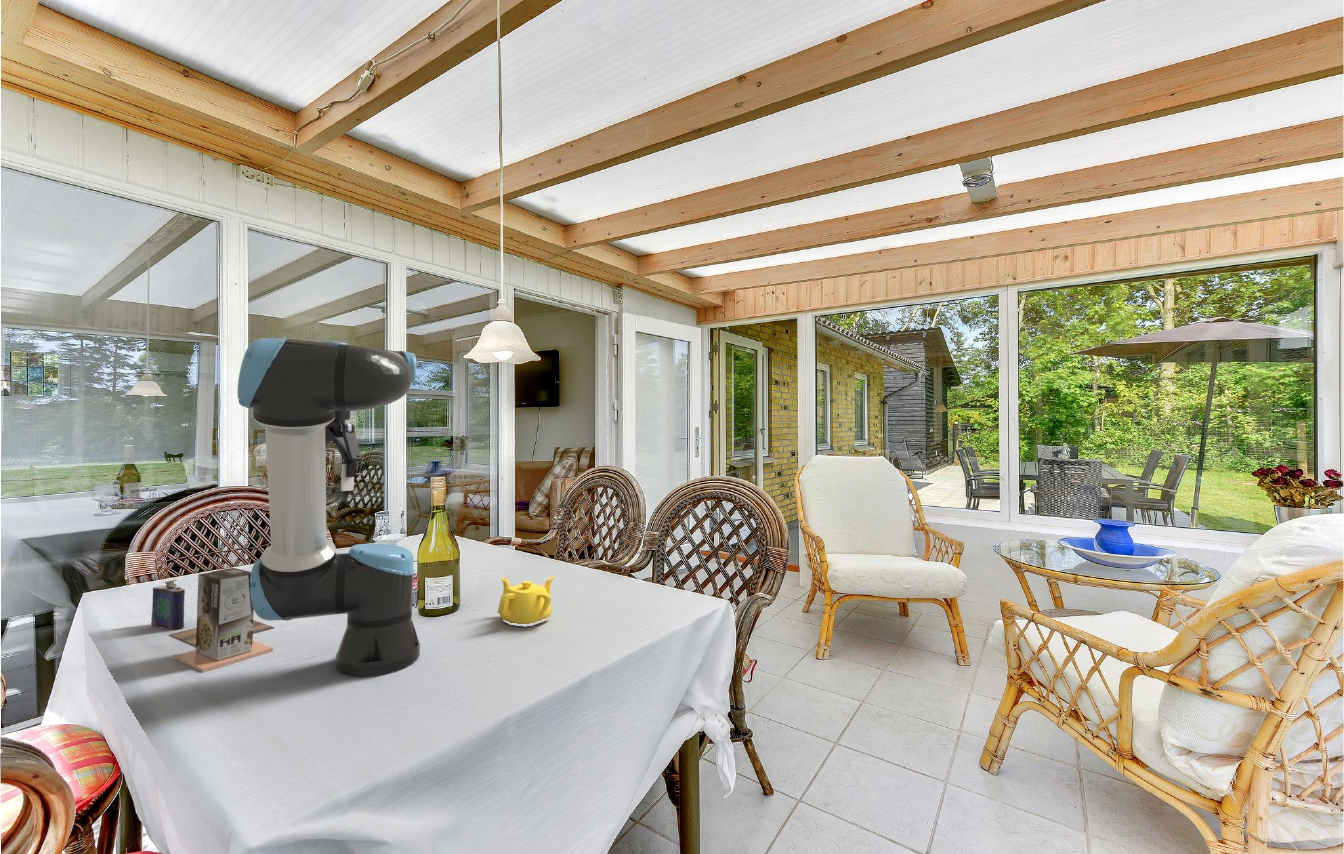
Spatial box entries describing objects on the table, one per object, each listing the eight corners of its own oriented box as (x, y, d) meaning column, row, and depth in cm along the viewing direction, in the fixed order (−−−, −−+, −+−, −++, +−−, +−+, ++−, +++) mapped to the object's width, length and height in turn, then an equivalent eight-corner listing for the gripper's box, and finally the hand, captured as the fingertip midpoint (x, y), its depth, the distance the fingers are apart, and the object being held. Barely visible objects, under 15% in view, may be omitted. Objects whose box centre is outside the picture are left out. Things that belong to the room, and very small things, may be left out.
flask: (148, 625, 125) (150, 579, 125) (163, 621, 127) (165, 576, 128) (173, 631, 122) (176, 583, 122) (188, 627, 124) (191, 580, 125)
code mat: (274, 627, 125) (274, 626, 125) (199, 648, 113) (199, 646, 113) (243, 617, 132) (243, 616, 132) (169, 635, 119) (169, 634, 119)
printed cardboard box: (253, 650, 111) (257, 572, 111) (216, 661, 105) (219, 579, 105) (231, 641, 115) (234, 566, 115) (193, 652, 109) (197, 572, 110)
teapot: (553, 611, 143) (554, 574, 143) (552, 629, 130) (553, 588, 130) (499, 613, 140) (501, 575, 140) (492, 631, 127) (494, 589, 127)
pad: (273, 650, 113) (273, 647, 113) (202, 672, 102) (202, 668, 102) (243, 639, 118) (243, 636, 118) (173, 658, 107) (173, 655, 108)
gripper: (380, 405, 132) (376, 490, 132) (317, 404, 143) (314, 483, 143) (350, 403, 126) (347, 493, 125) (287, 402, 136) (284, 485, 136)
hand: (329, 488), depth 134 cm, fingers open, 13 cm apart
